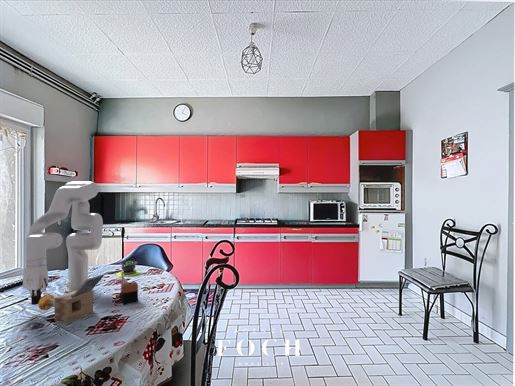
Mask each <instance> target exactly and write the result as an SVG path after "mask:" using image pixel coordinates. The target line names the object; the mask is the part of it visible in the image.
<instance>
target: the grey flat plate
mask: <svg viewBox="0 0 515 386" xmlns="http://www.w3.org/2000/svg"><path fill="white" fill-rule="evenodd" d="M104 277H105V274H100V275H97V276H93V277H90V278H88V279H87V280H85V281H84V283H83V284H82V285H81V286H80V287H79V289H78V290H77V291H76V292H75V293H74V294H73V295H71V297H72V298H74V297H77V296H80V295H82V294H85V293H88V292H91V291H93V289H94V288H95V287H96V286H97V285H98V284H99V282H100V281H101V280H102V279H103V278H104Z"/></svg>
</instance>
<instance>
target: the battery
mask: <svg viewBox="0 0 515 386" xmlns="http://www.w3.org/2000/svg"><path fill="white" fill-rule="evenodd" d="M121 286H122V298H121V304H123V305H129V304H135V303H138V302H139V284H138V283H137V282H136V281H135V280H132V281H131V282H129V281H124V284H122V285H121ZM121 286H120V287H121Z"/></svg>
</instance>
